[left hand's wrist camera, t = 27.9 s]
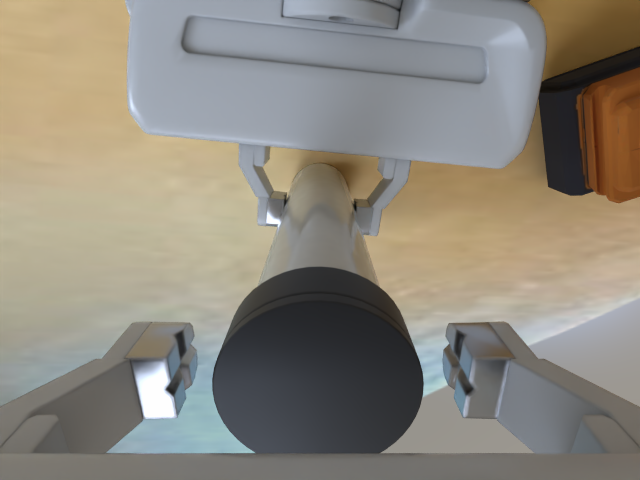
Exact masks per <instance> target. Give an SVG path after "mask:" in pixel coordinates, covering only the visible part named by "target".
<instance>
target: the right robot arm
mask: <svg viewBox="0 0 640 480" xmlns="http://www.w3.org/2000/svg"><path fill="white" fill-rule="evenodd" d="M528 1H530V0H125V3H126V7H127V10H128V13H129V15H130V25H129V38H128V54H127V101H128V109H129V112H130V114H131V116H132V117H133V118H134V120H135V121H136V122H137V124H138V125H139V126H140V128H141V129H142V130H143V131H144V132H145V133H147V134H150V135H159V136H169V137H180V138H190V139H200V140H210V141H220V142H230V143H239V166H240V168H241V170H242V172H243V174H244V175H245V177H246V179H247V181H248V183H249V184H250V186H251V188H252V190H253V192H254V194H255V195H256V197H258V225H261V226H275V227H278V224H279V221H280V218H281V215H282V212H283V209H284V206H285V203H286V200H287V192H279V191H274V190H273V188H272V186H271V184H270V182H269V179H268V177H267V175H266V173H265V171H264V169H263V166H264V165H265V164H266V163H267V161H268V160H269V159H270V146H271V147H281V148H291V149H301V150H311V151H322V152H332V153H342V154H352V155H362V156H372V157H379V161H378V169H377V170H378V171H379V172H380V174H381V175H382V176H383V179H382V180H381V181H380V183H379V184H378V185H377V187H376V188H375V189H374V191H373V192H372V193H371V195H370V196H369V197H368V200H364V199H354V203H353V205H354V208H355V211H356V214H357V217H358V221H359V224H360V227H361V230H362V233H363V235H370V236H377V235H378V232H379V226H380V220H381V214H382V209H385V208H386V206H387V205H388V204H389V203H390V202H391V200H392V199H393V198H394V197H395V196H396V194H397V193H398V192H399V191H400V190H401V188H402V187H403V186H404V185H405V184H406V182H407V181H408V175H409V170H410V165H411V160H413V161H423V162H433V163H443V164H454V165H464V166H474V167H484V168H495V169H502V168H504V167H506V166H507V165H508V164H509V163H510V162H512V161H513V160H514V159H515V158H516V157H517V156H518V155H519V154H520V153H521V152H522V151H523V149H524V147H525V145H526V143H527V140H528V136H529V133H530V130H531V126H532V122H533V118H534V114H535V110H536V106H537V102H538V97H539V92H540V87H541V82H542V76H543V70H544V65H545V58H546V48H547V37H546V30H545V25H544V22H543V20H542V17H541V16H540V14H539V13H538V11H537V10H536V9H535V8H534V7H533V6H531V5H530V4H528V3H527V2H528Z"/></svg>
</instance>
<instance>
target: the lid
mask: <svg viewBox="0 0 640 480" xmlns="http://www.w3.org/2000/svg"><path fill="white" fill-rule="evenodd" d="M423 385H424V383H423V372H422V368H421V365H420V361H419V358H418V356H417V353H416V351H415V348H414V345H413V343H412V340H411V338H410V335H409V332H408V330H407V327H406V324H405V322H404V319H403V317H402V315H401V313H400V310H399V309H398V307H397V306H396V304H395V303H394V301H393V300H392V299H391V298H390V297H389V295H388V294H387V293H386V292H385V291H383V290H382V289H381V288H380V287H379V286H378V285H376V284H374V283H373V282H371V281H370V280H368V279H366V278H364V277H362V276H360V275H358V274H356V273H353V272H350V271H347V270H343V269H338V268H333V267H321V266H319V267H304V268H298V269H294V270H290V271H286V272H283V273H281V274H278V275H276V276H274V277H272V278H270V279H268V280H267V281H265V282H263V283H262V284H260V285H259V286H258V287H256V288H255V289H254V290H253V291H252V292H251V293H250V294H249V295H248V296H247V297H246V298H245V299H244V301H243V302H242V303H241V305H240V306H239V308H238V310H237V312H236V313H235V315H234V318H233V320H232V323H231V325H230V328H229V330H228V333H227V335H226V338H225V340H224V343H223V345H222V348H221V350H220V353H219V355H218V358H217V361H216V364H215V367H214V372H213V379H212V386H213V396H214V401H215V404H216V407H217V410H218V413H219V415H220V417H221V419H222V420H223V422H224V424H225V425H226V426H227V428H228V429H229V431H230V432H231V433H232V434H233V435H234V436H235V437H236V438H237V439H238V440H239V441H240V442H241V443H243V444H244V445H245V446H246V447H248V448H249V449H251V450H252V451H254V452H255V453H381V452H382V451H384V450H386V449H387V448H388V447H390V446H391V445H392V444H394V443H395V442H396V441H397V440H398V439H399V438H400V437H401V436H402V435H403V434H404V433H405V432H406V430H407V429H408V428H409V427H410V425H411V424H412V422H413V420H414V419H415V417H416V415H417V412H418V410H419V408H420V404H421V400H422V396H423Z"/></svg>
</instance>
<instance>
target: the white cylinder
mask: <svg viewBox="0 0 640 480" xmlns="http://www.w3.org/2000/svg"><path fill="white" fill-rule="evenodd" d="M319 266H321V267H333V268H338V269H343V270H347V271H350V272H353V273H356V274H358V275H360V276H362V277H364V278H366V279H368V280H370V281H371V282H373V283H374V284H376V285H378V286H379V283H378V280H377V277H376V274H375V270H374V267H373V264H372V261H371V258H370V255H369V252H368V249H367V246H366V242H365V239H364V236H363V233H362V230H361V227H360V224H359V221H358V217H357V214H356V211H355V208H354V205H353V202H352V199H351V196H350V192H349V189H348V186H347V183H346V180H345V178H344V177H343V175H342V174H341V173H340V172H339V171H338V170H337V169H336V168H334V167H333V166H330V165H327V164H323V163H316V164H311V165H308V166H306V167H304V168H303V169H302V170H300V171H299V172H298V174H297V175H296V176H295V178H294V180H293V182H292V185H291V188H290V191H289V194H288V197H287V200H286V203H285V206H284V209H283V212H282V215H281V218H280V221H279V224H278V227H277V230H276V233H275V236H274V239H273V242H272V245H271V248H270V251H269V254H268V257H267V260H266V263H265V265H264V268H263V271H262V274H261V277H260V280H259V283H258V286H259V285H260V284H262V283H263V282H265V281H267V280H268V279H270V278H272V277H274V276H276V275H278V274H281V273H283V272H286V271H290V270H294V269H298V268H304V267H319ZM258 286H257V287H258ZM379 287H380V286H379Z"/></svg>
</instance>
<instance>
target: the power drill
mask: <svg viewBox="0 0 640 480" xmlns="http://www.w3.org/2000/svg"><path fill="white" fill-rule="evenodd" d="M539 106H540V115H541V124H542V134H543V143H544V152H545V162H546V171H547V180H548V187H550V188H552V189H555V190H557V191H560V192H562V193H565V194H568V195H570V196H577V195H584V194H587V193H591V192H594V191H595V192H596V193H597V194H599V195H606V197H607V198H608V199H609V200H610V201H613V202H616V203H621V202H624V201H628V200H631V199H634V198H637V197H640V46H639V47H637V48H634V49H631V50H628V51H625V52H622V53H620V54H617V55H614V56H611V57H608V58H606V59H603V60H600V61H597V62H594V63H591V64H589V65H586V66H583V67H580V68H577V69H574V70H572V71H569V72H566V73H563V74H560V75H557V76H555V77H552V78H549V79H546V80H544V81H542V82H541V87H540V92H539Z"/></svg>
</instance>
